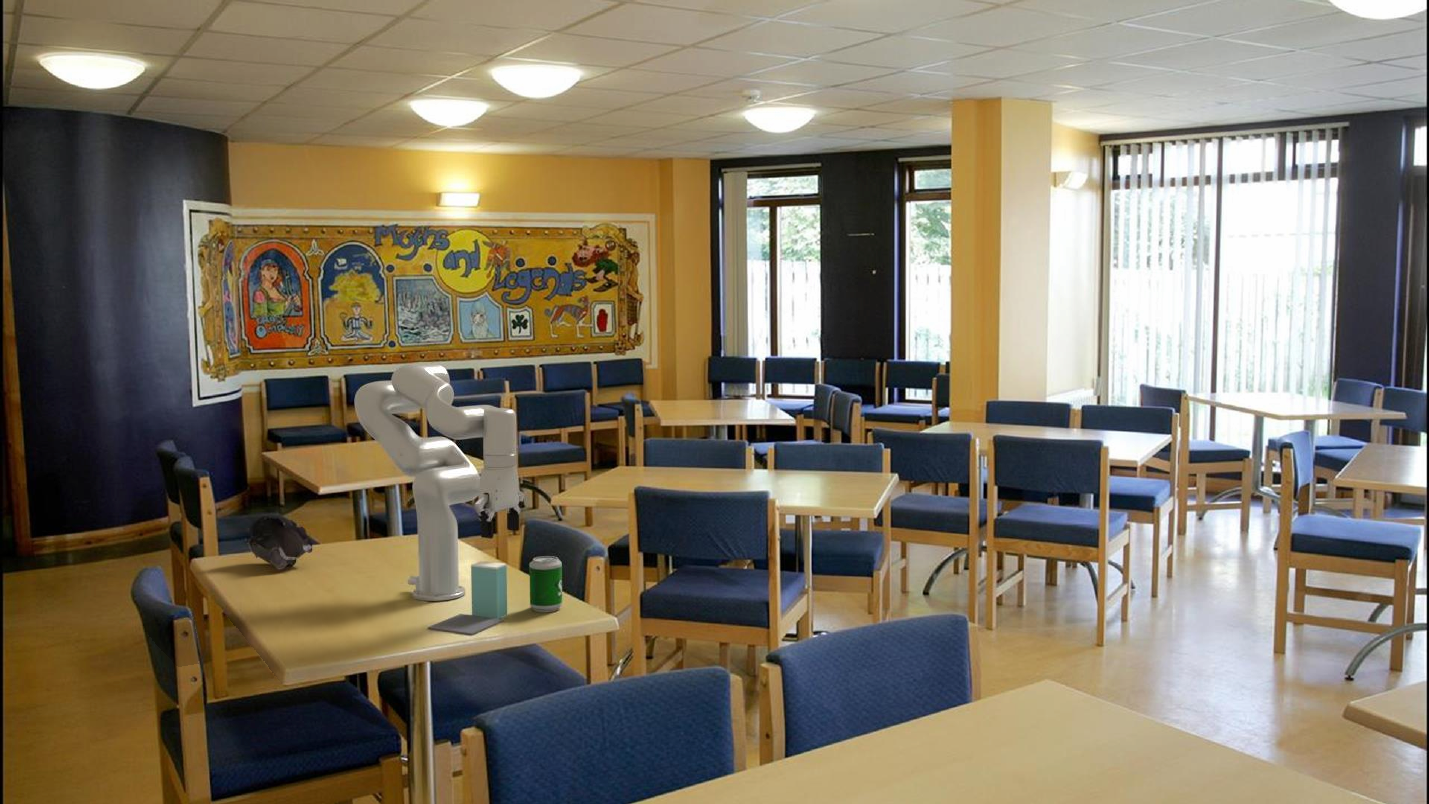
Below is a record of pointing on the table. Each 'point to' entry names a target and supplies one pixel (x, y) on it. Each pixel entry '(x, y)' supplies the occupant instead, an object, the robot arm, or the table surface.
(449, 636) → the table surface
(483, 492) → the robot arm
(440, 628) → the rubber mat
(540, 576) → the soda can
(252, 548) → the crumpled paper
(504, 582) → the teal block
